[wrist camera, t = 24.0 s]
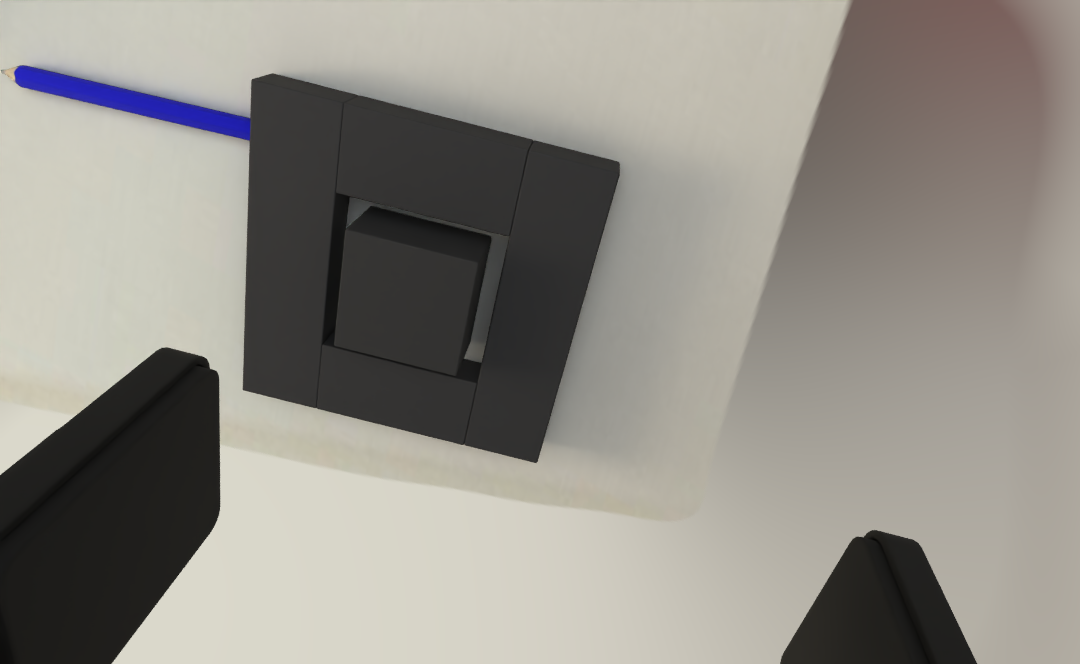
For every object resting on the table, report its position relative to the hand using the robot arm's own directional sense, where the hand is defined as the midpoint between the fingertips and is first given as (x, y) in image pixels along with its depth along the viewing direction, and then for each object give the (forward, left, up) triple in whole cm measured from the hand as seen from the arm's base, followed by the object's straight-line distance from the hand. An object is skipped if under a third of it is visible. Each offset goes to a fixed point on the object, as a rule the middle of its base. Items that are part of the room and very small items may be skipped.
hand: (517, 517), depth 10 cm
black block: (+6, +8, -24) cm, 26 cm away
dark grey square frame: (+6, +8, -24) cm, 26 cm away
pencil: (+18, +3, -24) cm, 30 cm away
